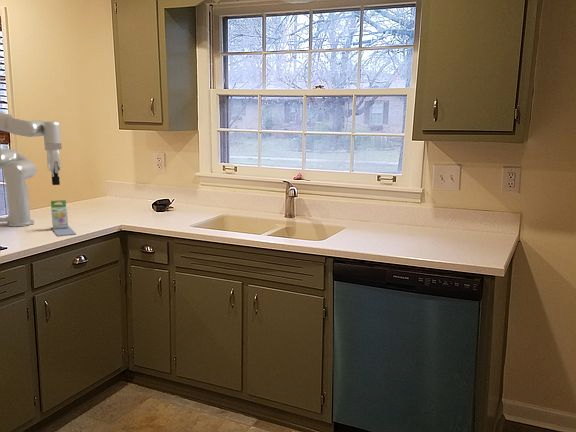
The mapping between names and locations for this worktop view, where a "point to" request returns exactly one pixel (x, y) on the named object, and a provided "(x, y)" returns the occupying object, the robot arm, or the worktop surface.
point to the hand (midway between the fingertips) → (56, 184)
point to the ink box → (59, 214)
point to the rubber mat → (64, 231)
